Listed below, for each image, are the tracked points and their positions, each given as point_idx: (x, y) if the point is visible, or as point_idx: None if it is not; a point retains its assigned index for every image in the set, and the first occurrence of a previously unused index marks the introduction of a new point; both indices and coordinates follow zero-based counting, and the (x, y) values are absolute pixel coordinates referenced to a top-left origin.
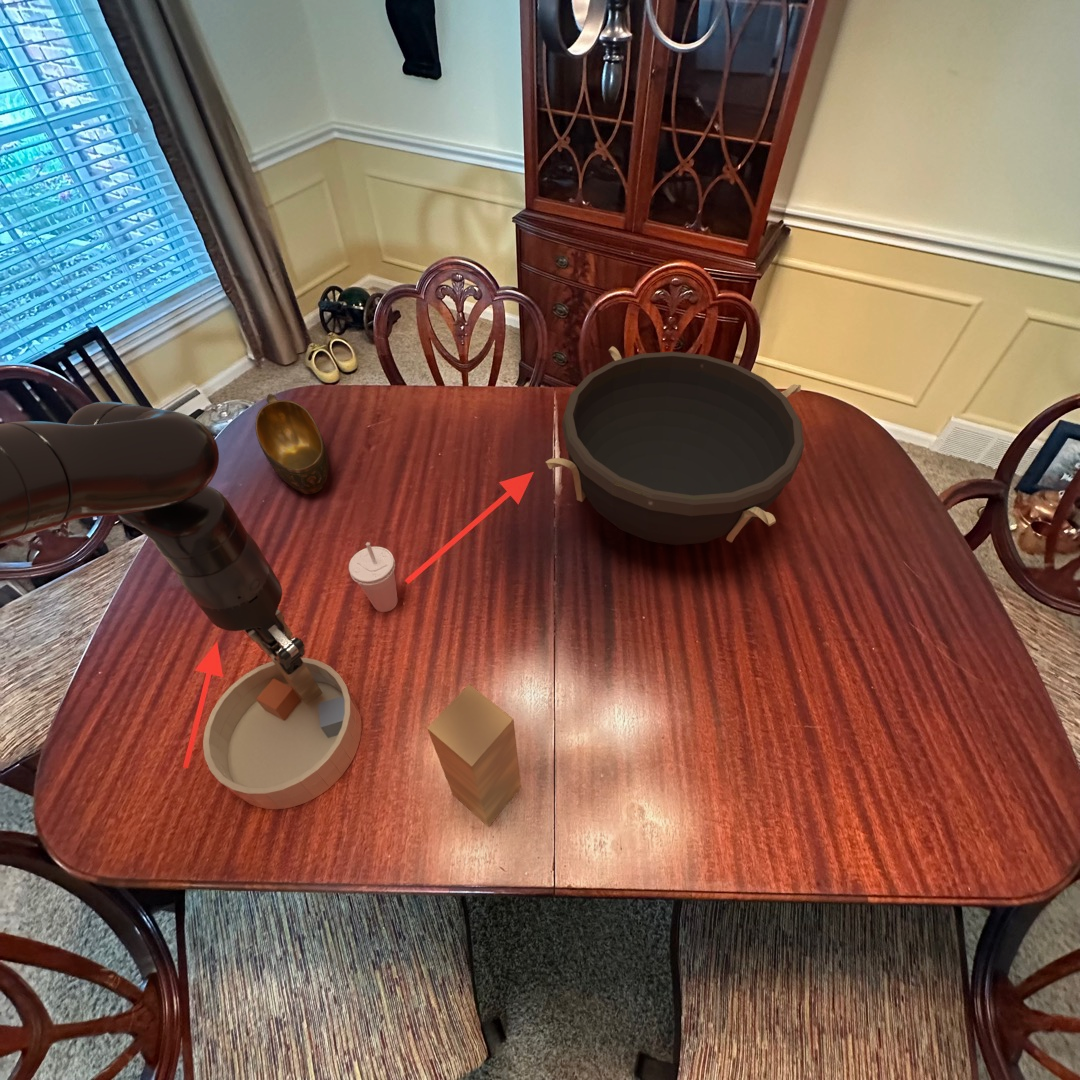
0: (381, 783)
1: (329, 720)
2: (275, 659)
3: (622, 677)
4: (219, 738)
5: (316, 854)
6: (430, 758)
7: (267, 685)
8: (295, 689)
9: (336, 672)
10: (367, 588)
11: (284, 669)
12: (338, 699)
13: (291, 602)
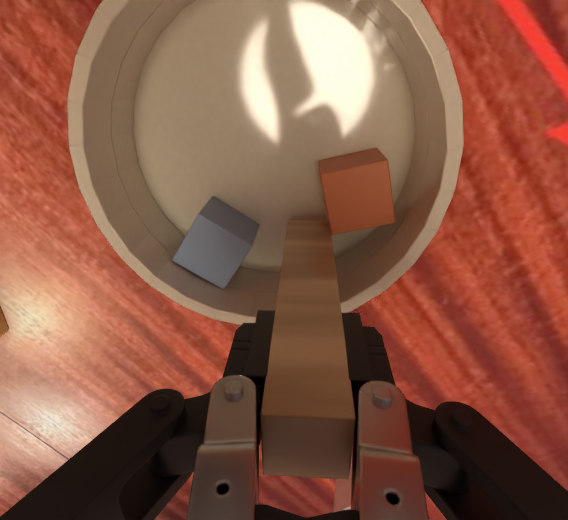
0: (71, 199)
1: (198, 235)
2: (225, 395)
3: (3, 487)
4: (387, 18)
5: (19, 16)
6: (58, 279)
7: (392, 201)
8: (297, 248)
9: None
10: None
11: (254, 330)
12: (226, 276)
13: (533, 333)
